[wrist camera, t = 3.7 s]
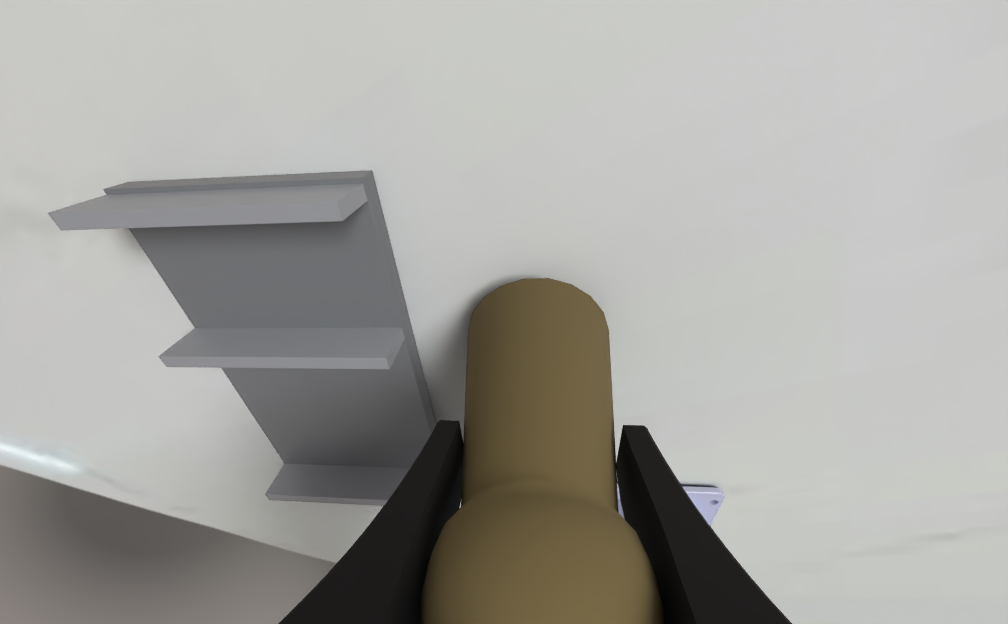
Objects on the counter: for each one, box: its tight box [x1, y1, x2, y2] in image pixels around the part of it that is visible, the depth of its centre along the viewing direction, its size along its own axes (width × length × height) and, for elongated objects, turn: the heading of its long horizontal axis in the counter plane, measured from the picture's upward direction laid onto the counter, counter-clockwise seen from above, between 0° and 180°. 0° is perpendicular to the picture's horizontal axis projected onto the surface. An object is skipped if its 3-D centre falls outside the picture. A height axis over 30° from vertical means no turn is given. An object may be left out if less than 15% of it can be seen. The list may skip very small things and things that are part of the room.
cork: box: [421, 278, 665, 624], centre depth 11 cm, size 6×6×11 cm
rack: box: [48, 170, 436, 506], centre depth 18 cm, size 18×10×3 cm, turn 4°
